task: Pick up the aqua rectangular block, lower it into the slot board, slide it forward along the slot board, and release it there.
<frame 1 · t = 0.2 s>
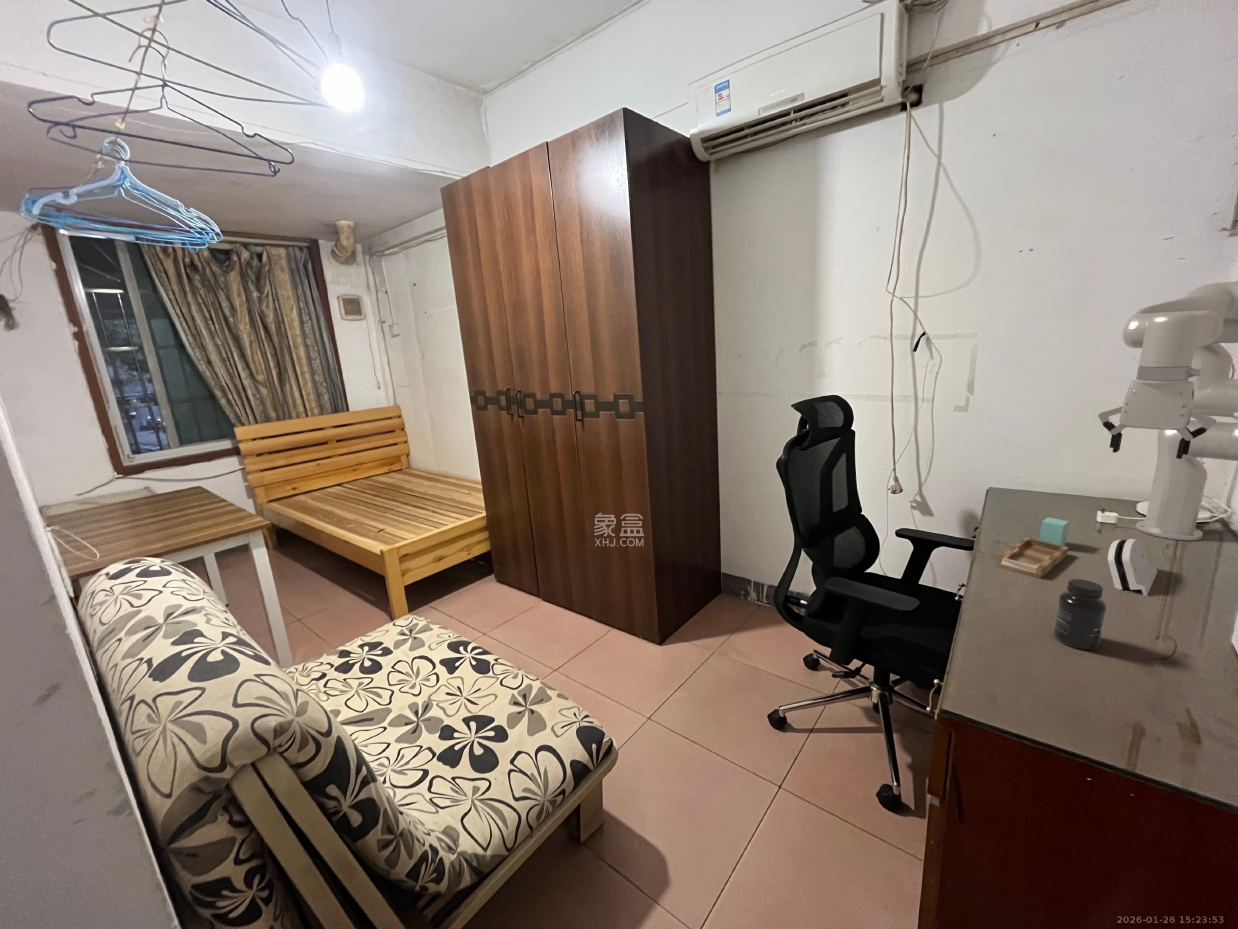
hand: (1146, 454, 108), 31 cm above the table, fingers open, 9 cm apart
aqua rectangular block: (1051, 545, 137), on the table
slot board: (1031, 560, 129), on the table
supplement bottle: (1075, 641, 97), on the table
white piece: (1128, 579, 118), on the table
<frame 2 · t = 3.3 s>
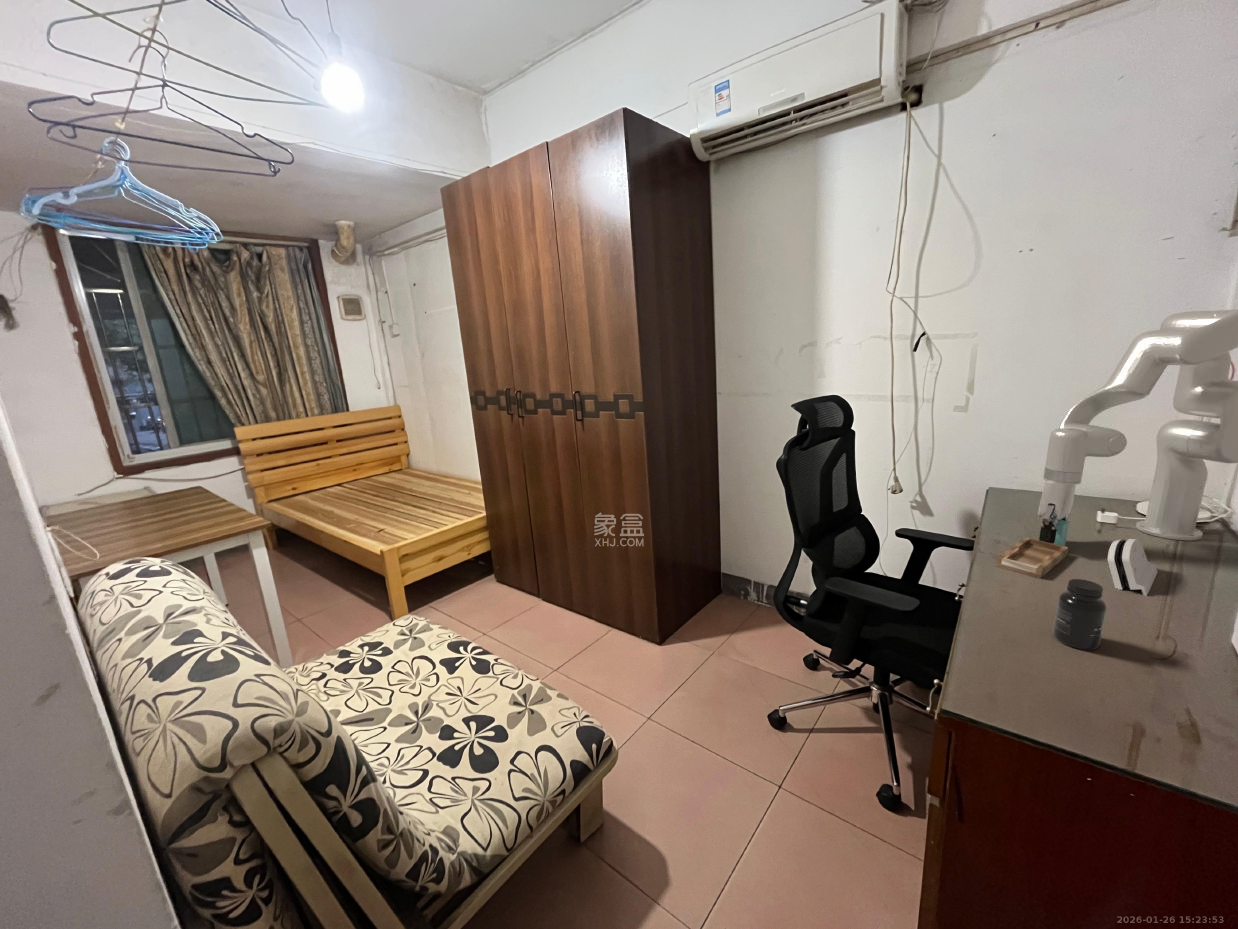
hand: (1051, 537, 136), 2 cm above the table, fingers open, 7 cm apart
nothing on the table moved.
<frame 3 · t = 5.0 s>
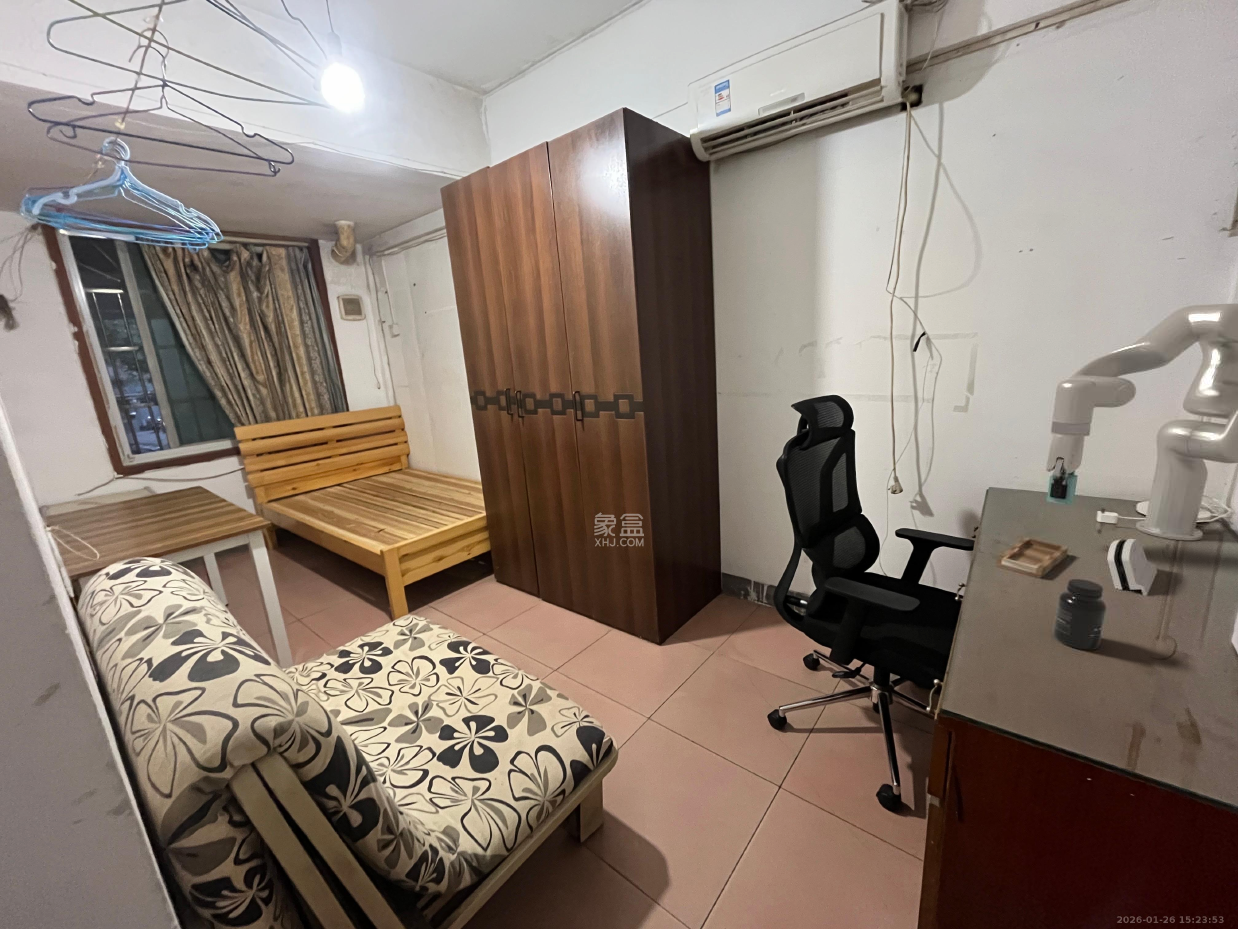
hand: (1061, 495, 133), 14 cm above the table, fingers closed on aqua rectangular block, 4 cm apart
aqua rectangular block: (1060, 500, 134), point 13 cm above the table, touching gripper
everything else where it was.
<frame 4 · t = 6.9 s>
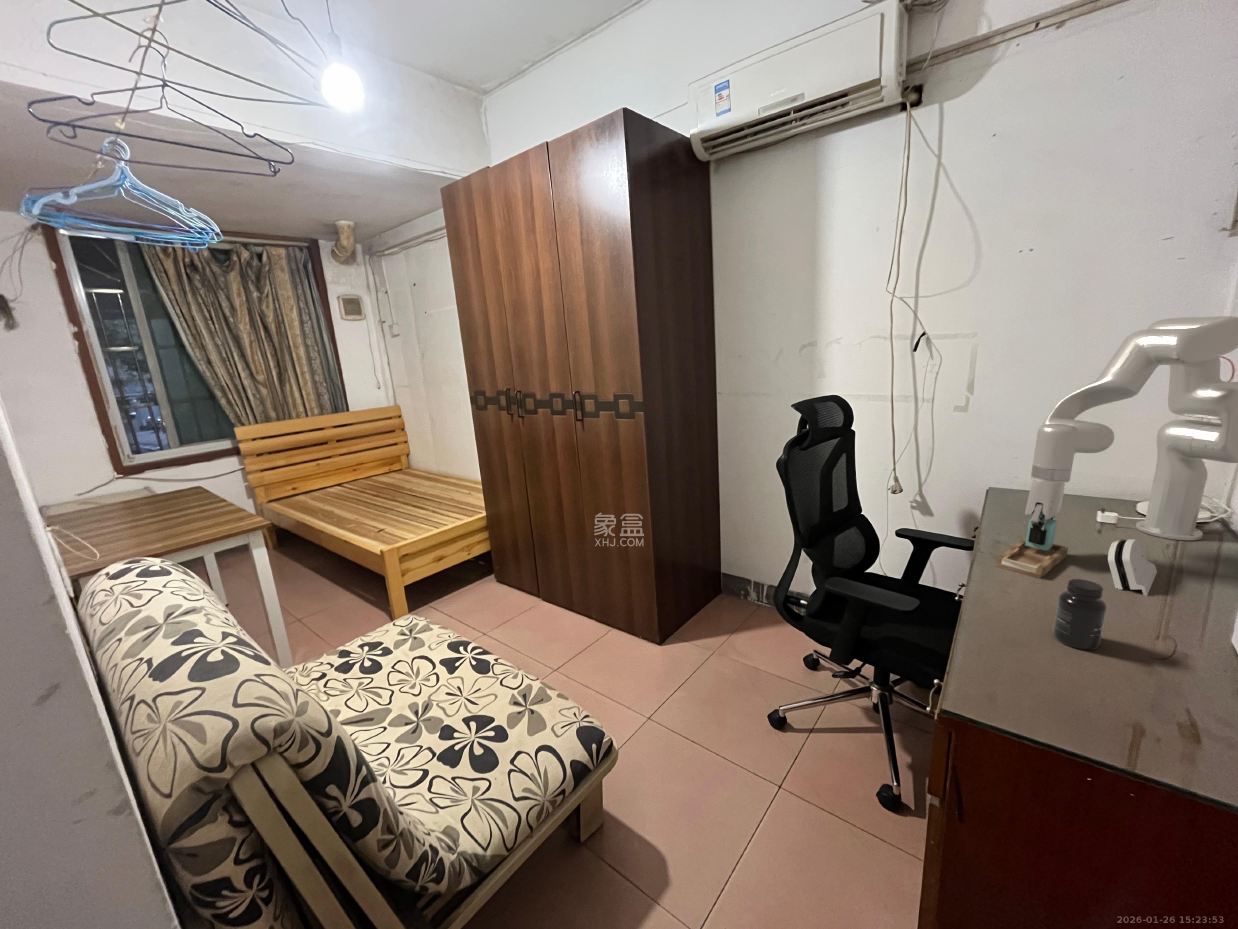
hand: (1040, 540, 130), 5 cm above the table, fingers closed on aqua rectangular block, 4 cm apart
aqua rectangular block: (1038, 545, 130), point 3 cm above the table, touching gripper
everything else where it was.
when the fingers open (3 cm above the table, at t = 10.2 s): aqua rectangular block stays where it is, resting on slot board.
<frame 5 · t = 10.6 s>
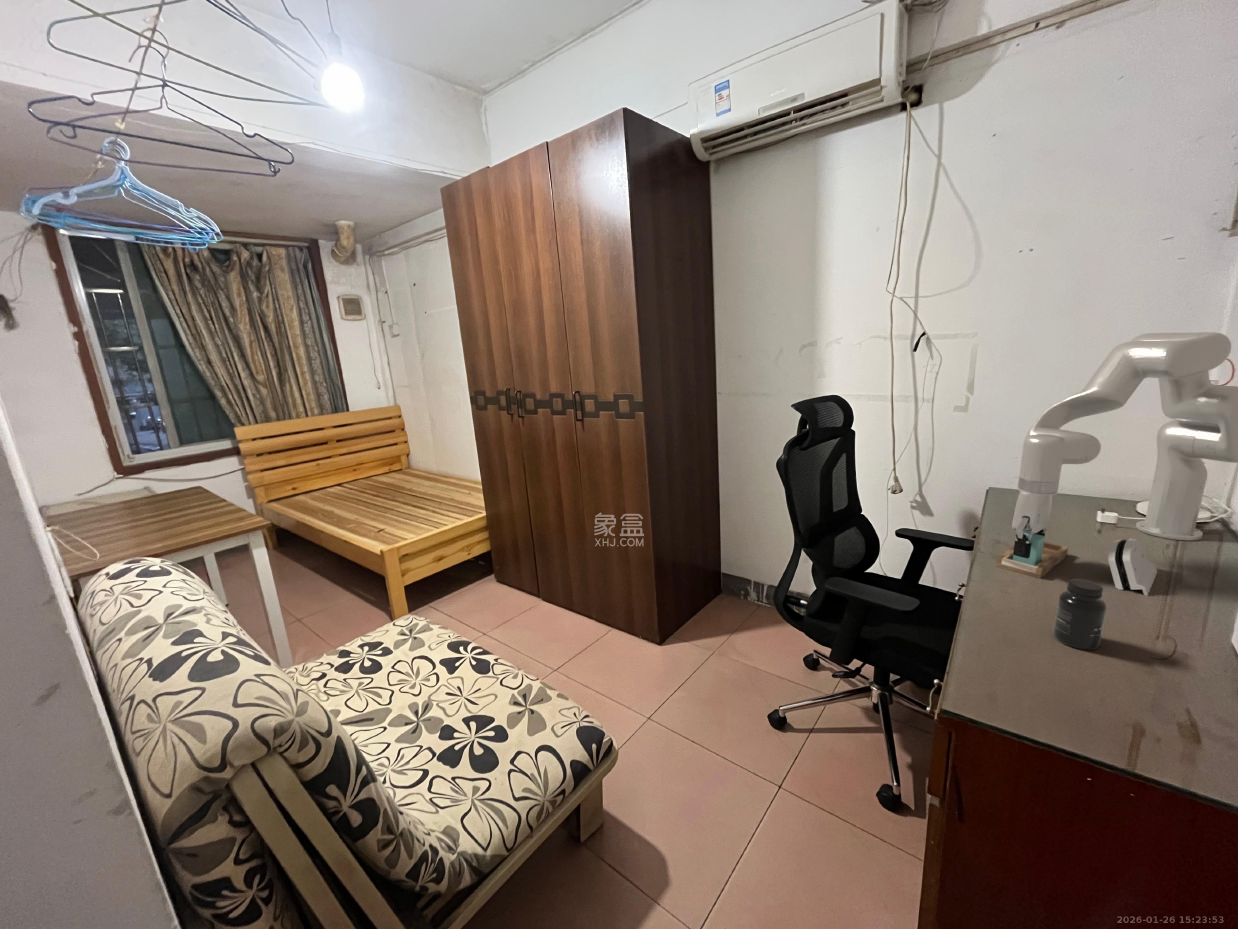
hand: (1028, 551, 126), 4 cm above the table, fingers open, 8 cm apart
aqua rectangular block: (1026, 561, 126), point 1 cm above the table, touching slot board
everything else where it was.
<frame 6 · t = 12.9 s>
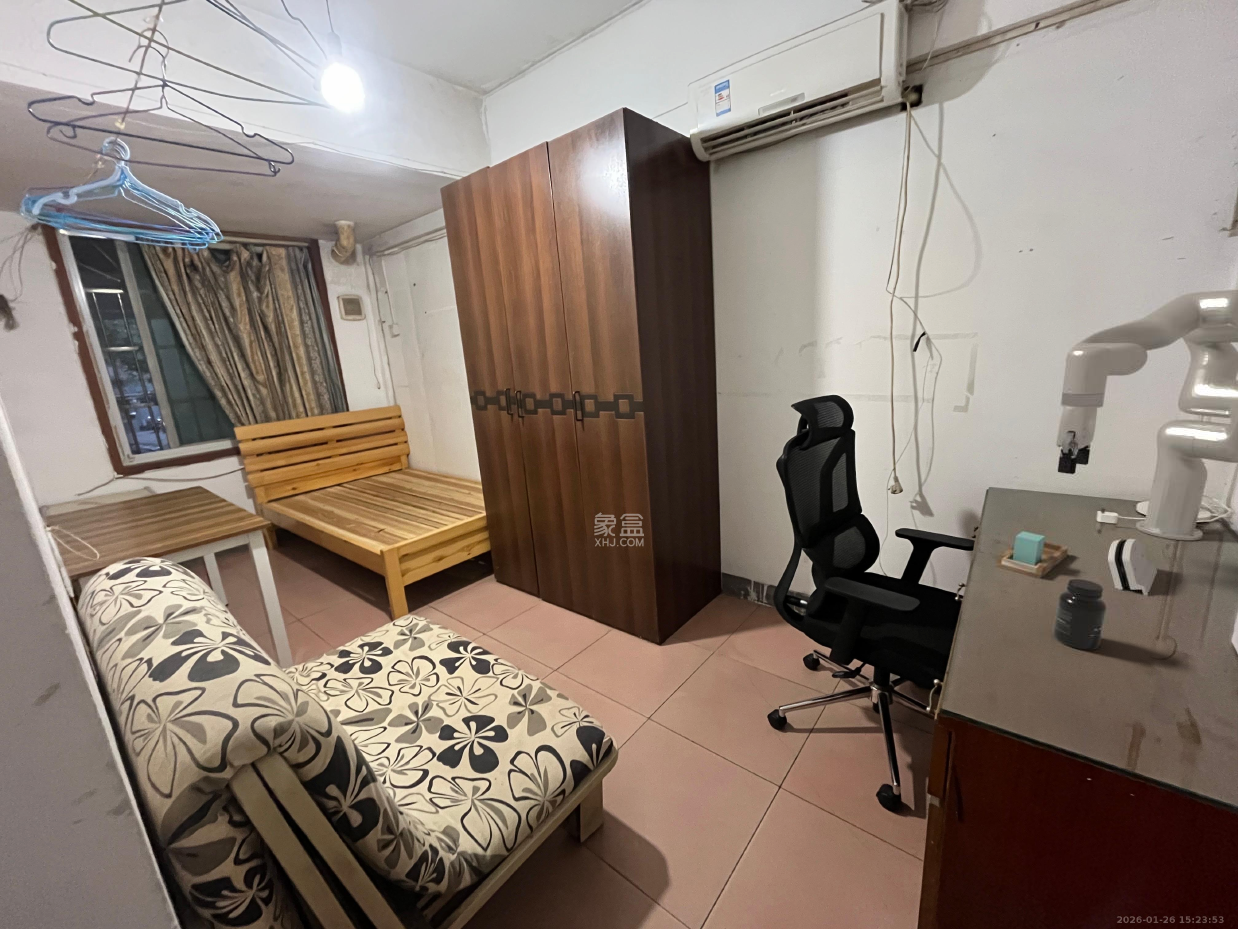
hand: (1072, 468, 124), 24 cm above the table, fingers open, 9 cm apart
nothing on the table moved.
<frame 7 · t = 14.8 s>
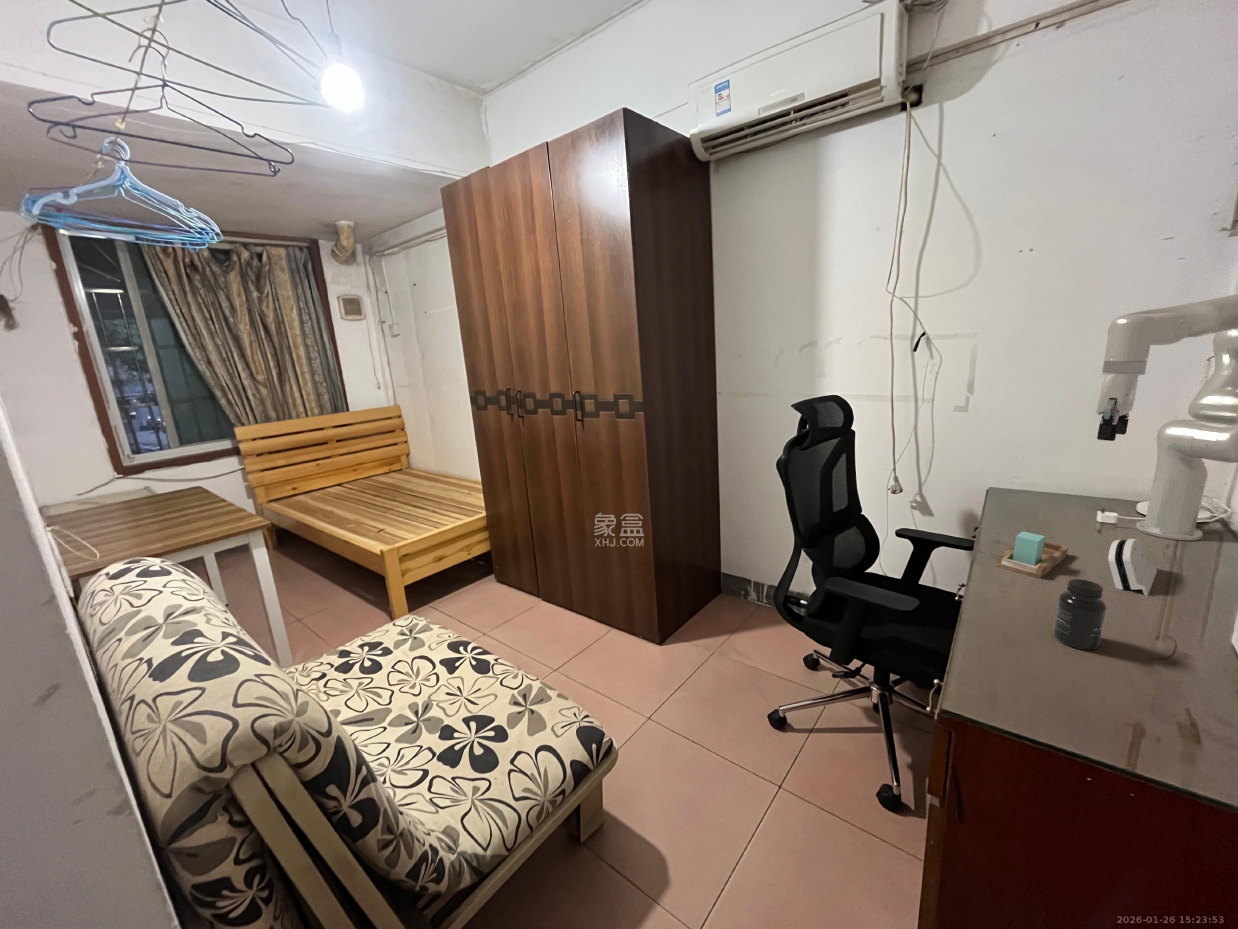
hand: (1111, 436, 126), 30 cm above the table, fingers open, 9 cm apart
nothing on the table moved.
at the end: aqua rectangular block 0.4 cm from the target spot on the slot board, point 1.0 cm above the slot board's base; aqua rectangular block tilted 0°; the gripper is holding nothing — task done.
